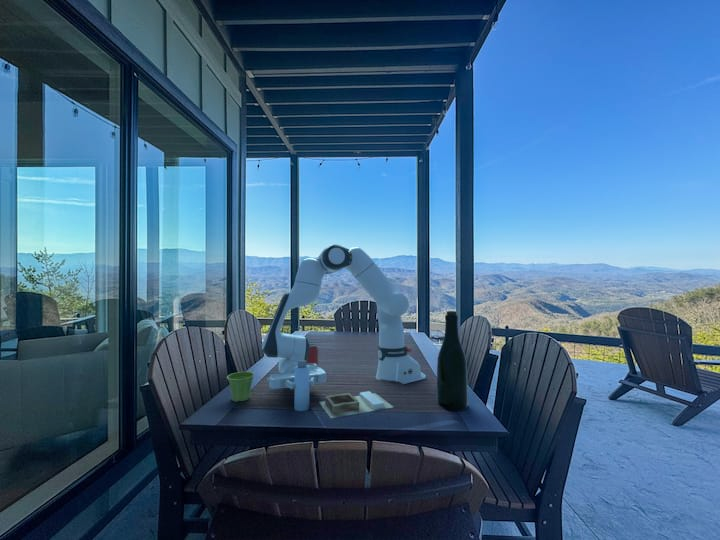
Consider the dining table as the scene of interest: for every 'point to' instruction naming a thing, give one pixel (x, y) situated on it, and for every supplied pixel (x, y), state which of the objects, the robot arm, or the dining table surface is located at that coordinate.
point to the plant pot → (240, 385)
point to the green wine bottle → (452, 368)
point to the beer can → (313, 354)
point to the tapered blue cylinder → (301, 386)
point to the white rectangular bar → (372, 400)
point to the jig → (348, 405)
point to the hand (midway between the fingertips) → (302, 385)
